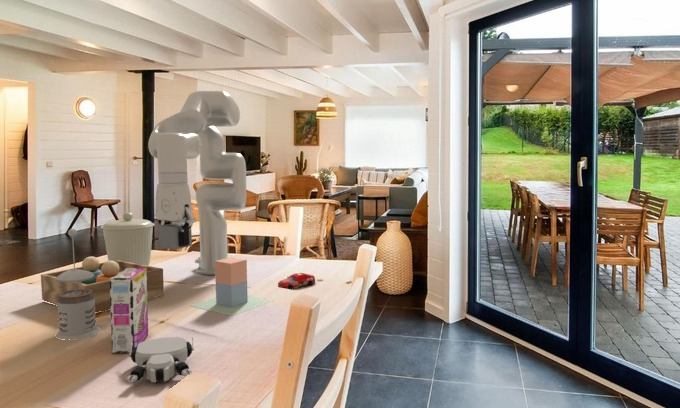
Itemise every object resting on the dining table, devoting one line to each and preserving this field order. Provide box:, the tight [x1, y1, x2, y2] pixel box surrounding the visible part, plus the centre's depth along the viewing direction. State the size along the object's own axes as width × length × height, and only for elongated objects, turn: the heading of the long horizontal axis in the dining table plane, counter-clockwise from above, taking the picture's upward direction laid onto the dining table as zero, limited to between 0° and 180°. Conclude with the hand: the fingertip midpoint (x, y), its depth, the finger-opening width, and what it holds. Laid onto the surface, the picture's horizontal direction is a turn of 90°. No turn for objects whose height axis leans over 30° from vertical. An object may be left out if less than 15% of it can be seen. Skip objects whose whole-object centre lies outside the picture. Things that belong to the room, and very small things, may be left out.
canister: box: [100, 211, 156, 266], centre depth 188 cm, size 18×18×21 cm
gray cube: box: [158, 222, 193, 251], centre depth 141 cm, size 6×6×6 cm
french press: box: [55, 228, 101, 341], centre depth 122 cm, size 10×12×25 cm
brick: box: [214, 256, 248, 286], centre depth 141 cm, size 6×6×6 cm
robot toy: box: [126, 336, 195, 384], centre depth 101 cm, size 12×4×15 cm
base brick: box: [215, 280, 249, 308], centre depth 142 cm, size 6×6×6 cm
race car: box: [277, 272, 316, 291], centre depth 165 cm, size 13×5×4 cm, turn 130°
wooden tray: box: [40, 260, 165, 313], centre depth 151 cm, size 23×24×8 cm
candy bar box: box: [109, 268, 149, 354], centre depth 115 cm, size 11×5×16 cm, turn 5°
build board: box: [189, 295, 273, 317], centre depth 142 cm, size 16×16×1 cm
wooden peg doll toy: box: [81, 256, 120, 285], centre depth 152 cm, size 18×17×12 cm
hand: (175, 243), depth 142 cm, fingers closed on gray cube, 6 cm apart
